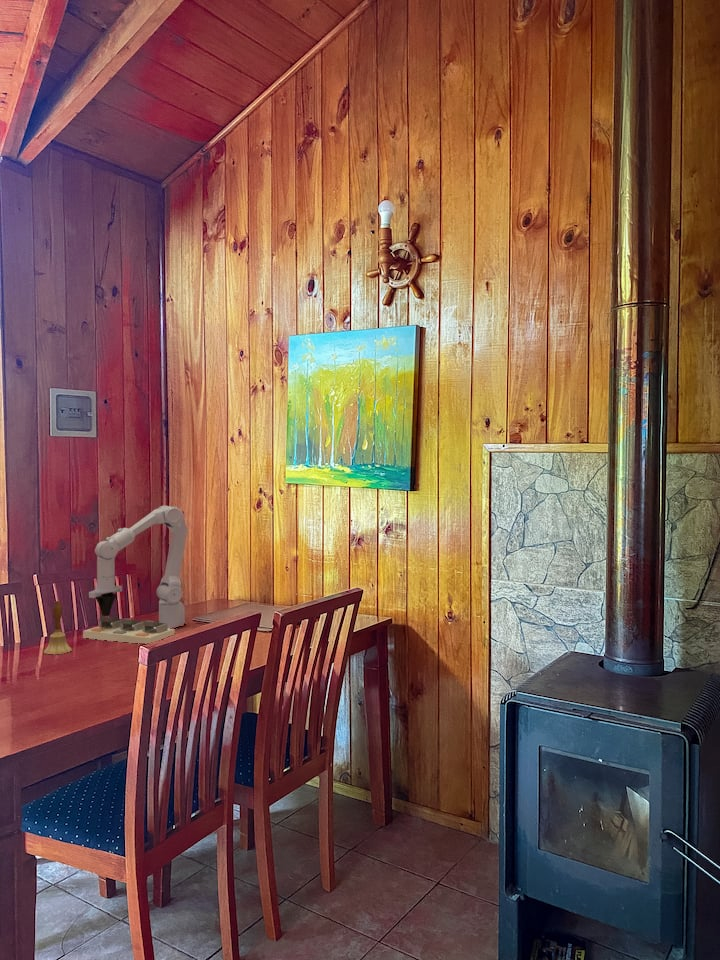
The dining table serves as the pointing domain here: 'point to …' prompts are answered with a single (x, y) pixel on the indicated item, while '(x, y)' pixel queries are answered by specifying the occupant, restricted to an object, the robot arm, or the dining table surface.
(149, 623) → the block
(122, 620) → the rocker middle
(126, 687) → the dining table surface
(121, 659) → the dining table surface
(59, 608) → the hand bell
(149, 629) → the switch panel
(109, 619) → the rocker
